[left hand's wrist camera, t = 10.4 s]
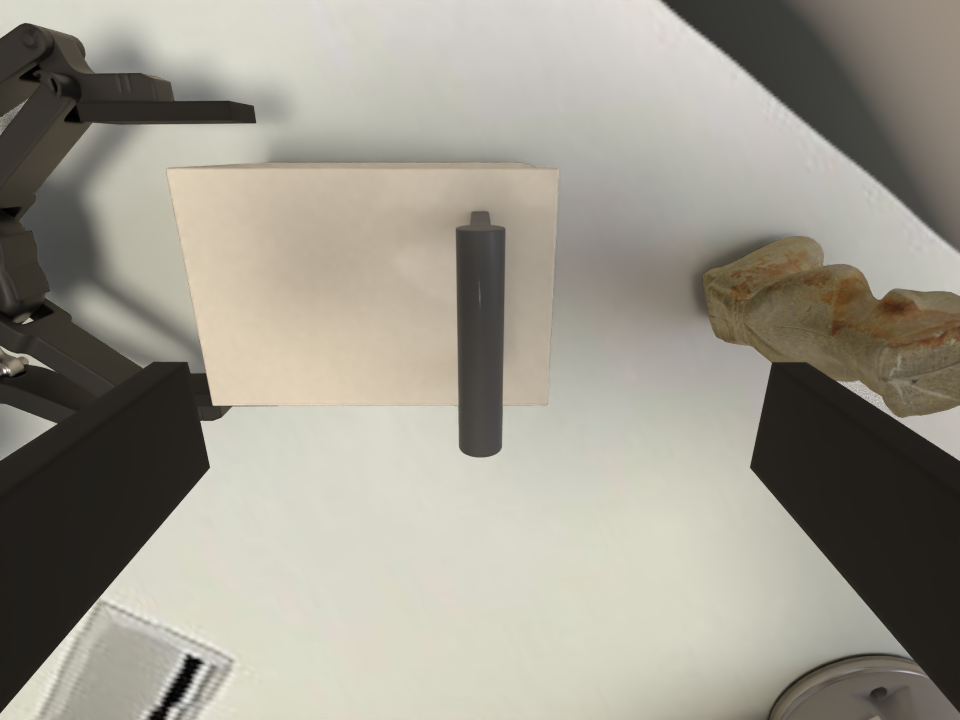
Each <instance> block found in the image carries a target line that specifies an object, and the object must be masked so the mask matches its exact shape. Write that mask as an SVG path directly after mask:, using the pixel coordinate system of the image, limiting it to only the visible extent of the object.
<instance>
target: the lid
mask: <svg viewBox="0 0 960 720" xmlns="http://www.w3.org/2000/svg"><path fill="white" fill-rule="evenodd" d="M559 172H560V170H559V168H555V167H175V168H167V169H166V174H167V179H168V184H169V189H170V194H171V199H172V204H173V209H174V214H175V219H176V224H177V229H178V234H179V239H180V244H181V249H182V254H183V259H184V264H185V269H186V274H187V279H188V284H189V289H190V294H191V299H192V304H193V309H194V314H195V319H196V324H197V329H198V334H199V339H200V344H201V349H202V354H203V359H204V364H205V369H206V374H207V379H208V384H209V389H210V394H211V399H212V404H213V405H214V406H458V410H459V448H460V450H461V451H462V452H463V453H464V454H466V455H469V456H472V457H489V456H492V455H495V454H497V453H498V452H499V451H500V450H501V448H502V416H503V406H514V405H547V404H548V389H549V369H550V349H551V330H552V310H553V290H554V270H555V251H556V231H557V211H558V191H559Z"/></svg>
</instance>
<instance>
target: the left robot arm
mask: <svg viewBox="0 0 960 720" xmlns="http://www.w3.org/2000/svg"><path fill="white" fill-rule="evenodd" d="M209 468H210V465H209V461H208V456H207V451H206V446H205V442H204V437H203V432H202V427H201V423H200V418H199V413H198V409H197V404H196V399H195V394H194V390H193V385H192V380H191V375H190V371H189V366H188V362H153V363H151V364H150V365H148V366H147V367H145V368H144V369H142V370H140V371H139V372H137V373H136V374H134V375H133V376H131V377H130V378H128V379H127V380H125V381H123V382H122V383H120V384H119V385H117V386H116V387H114V388H113V389H111V390H110V391H108V392H106V393H105V394H103V395H102V396H100V397H99V398H97V399H96V400H94V401H92V402H91V403H89V404H88V405H86V406H85V407H83V408H82V409H80V410H79V411H77V412H75V413H74V414H72V415H71V416H69V417H68V418H66V419H65V420H63V421H62V422H60V423H58V424H57V425H55V426H54V427H52V428H51V429H49V430H48V431H46V432H44V433H43V434H41V435H40V436H38V437H37V438H35V439H34V440H32V441H31V442H29V443H27V444H26V445H24V446H23V447H21V448H20V449H18V450H17V451H15V452H13V453H12V454H10V455H9V456H7V457H6V458H4V459H3V460H1V461H0V713H1V712H2V711H3V710H4V708H5V707H6V706H7V705H8V704H9V703H10V701H11V700H12V699H13V698H14V697H15V696H16V694H17V693H18V692H19V691H20V690H21V689H22V687H23V686H24V685H25V684H26V683H27V681H28V680H29V679H30V678H31V677H32V676H33V674H34V673H35V672H36V671H37V670H38V669H39V667H40V666H41V665H42V664H43V663H44V662H45V660H46V659H47V658H48V657H49V656H50V655H51V653H52V652H53V651H54V650H55V649H56V647H57V646H58V645H59V644H60V643H61V642H62V640H63V639H64V638H65V637H66V636H67V635H68V633H69V632H70V631H71V630H72V629H73V628H74V626H75V625H76V624H77V623H78V622H79V621H80V619H81V618H82V617H83V616H84V615H85V614H86V612H87V611H88V610H89V609H90V608H91V606H92V605H93V604H94V603H95V602H96V601H97V599H98V598H99V597H100V596H101V595H102V594H103V592H104V591H105V590H106V589H107V588H108V587H109V585H110V584H111V583H112V582H113V581H114V580H115V578H116V577H117V576H118V575H119V574H120V573H121V571H122V570H123V569H124V568H125V567H126V565H127V564H128V563H129V562H130V561H131V560H132V558H133V557H134V556H135V555H136V554H137V553H138V551H139V550H140V549H141V548H142V547H143V546H144V544H145V543H146V542H147V541H148V540H149V539H150V537H151V536H152V535H153V534H154V533H155V531H156V530H157V529H158V528H159V527H160V526H161V524H162V523H163V522H164V521H165V520H166V519H167V517H168V516H169V515H170V514H171V513H172V512H173V510H174V509H175V508H176V507H177V506H178V505H179V503H180V502H181V501H182V500H183V499H184V498H185V496H186V495H187V494H188V493H189V492H190V490H191V489H192V488H193V487H194V486H195V485H196V483H197V482H198V481H199V480H200V479H201V478H202V476H203V475H204V474H205V473H206V472H207V471H208V469H209ZM750 468H751V469H752V471H753V472H754V473H755V474H756V475H757V476H758V478H759V479H760V480H761V481H762V482H763V483H764V485H765V486H766V487H767V488H768V489H769V490H770V492H771V493H772V494H773V495H774V496H775V498H776V499H777V500H778V501H779V502H780V503H781V505H782V506H783V507H784V508H785V509H786V510H787V512H788V513H789V514H790V515H791V516H792V517H793V519H794V520H795V521H796V522H797V523H798V524H799V526H800V527H801V528H802V529H803V530H804V532H805V533H806V534H807V535H808V536H809V537H810V539H811V540H812V541H813V542H814V543H815V544H816V546H817V547H818V548H819V549H820V550H821V551H822V553H823V554H824V555H825V556H826V557H827V558H828V560H829V561H830V562H831V563H832V564H833V565H834V567H835V568H836V569H837V570H838V571H839V573H840V574H841V575H842V576H843V577H844V578H845V580H846V581H847V582H848V583H849V584H850V585H851V587H852V588H853V589H854V590H855V591H856V592H857V594H858V595H859V596H860V597H861V598H862V599H863V601H864V602H865V603H866V604H867V605H868V606H869V608H870V609H871V610H872V611H873V612H874V614H875V615H876V616H877V617H878V618H879V619H880V621H881V622H882V623H883V624H884V625H885V626H886V628H887V629H888V630H889V631H890V632H891V633H892V635H893V636H894V637H895V638H896V639H897V640H898V642H899V643H900V644H901V645H902V646H903V647H904V649H905V650H906V651H907V652H908V653H909V655H910V656H911V657H912V658H913V659H914V660H915V662H914V661H911V660H908V659H904V658H899V657H893V656H864V657H857V658H851V659H847V660H843V661H839V662H836V663H833V664H830V665H827V666H825V667H823V668H820V669H818V670H816V671H814V672H812V673H811V674H809V675H807V676H805V677H804V678H802V679H801V680H799V681H798V682H797V683H795V684H794V685H793V686H792V687H791V688H790V689H788V690H787V691H786V692H785V693H784V695H783V696H782V697H781V698H780V699H779V701H778V702H777V703H776V705H775V707H774V708H773V711H772V713H771V715H770V718H769V720H960V461H959V460H957V459H956V458H954V457H953V456H951V455H950V454H948V453H946V452H945V451H943V450H942V449H940V448H939V447H937V446H936V445H934V444H933V443H931V442H929V441H928V440H926V439H925V438H923V437H922V436H920V435H919V434H917V433H916V432H914V431H912V430H911V429H909V428H908V427H906V426H905V425H903V424H902V423H900V422H898V421H897V420H895V419H894V418H892V417H891V416H889V415H888V414H886V413H885V412H883V411H881V410H880V409H878V408H877V407H875V406H874V405H872V404H871V403H869V402H868V401H866V400H864V399H863V398H861V397H860V396H858V395H857V394H855V393H854V392H852V391H850V390H849V389H847V388H846V387H844V386H843V385H841V384H840V383H838V382H837V381H835V380H833V379H832V378H830V377H829V376H827V375H826V374H824V373H823V372H821V371H820V370H818V369H816V368H815V367H813V366H812V365H810V364H809V363H807V362H772V366H771V371H770V375H769V380H768V385H767V390H766V394H765V399H764V404H763V409H762V413H761V418H760V423H759V427H758V432H757V437H756V442H755V446H754V451H753V456H752V461H751V465H750Z"/></svg>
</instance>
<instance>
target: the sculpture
mask: <svg viewBox="0 0 960 720" xmlns="http://www.w3.org/2000/svg"><path fill="white" fill-rule="evenodd" d="M823 258H824V256H823V250H822V248H821V246H820V245H819V244H818V243H817V242H816V241H814V240H813V239H811V238H809V237H802V236H798V237H789V238H785V239H781V240H778V241H775V242H773V243H770V244H768V245H766V246H764V247H762V248H760V249H758V250H756V251H754V252H752V253H750V254H748V255H746V256H744V257H742V258H741V259H739V260H737V261H735V262H733V263H730V264H728V265H725V266H722V267H715V268H712V269H710V270H708V271H707V272H705V273H704V275H703V288H704V293H705V297H706V303H707V309H708V314H709V319H710V323H711V326H712V329H713V331H714V333H715V335H716V337H717V338H719V339H722V340H724V341H725V342H728V343H733V344H740V345H750V346H752V347H754V348H755V349H756V350H757V351H758V352H759V353H761V354H762V355H763V356H764V357H766V358H767V359H768V360H769V361H770V362H807V363H809V364H810V365H812V366H813V367H815V368H816V369H818V370H820V371H821V372H823V373H824V374H826V375H827V376H829V377H830V378H832V379H833V380H835V381H845V382H852V381H857V380H860V381H861V382H862V383H863V384H865V385H866V386H867V387H868V388H869V389H871V390H872V391H874V392H875V393H877V394H879V395H880V396H882V398H883V400H884V402H885V404H886V405H887V407H888V408H889V409H890V410H891V411H892V412H893V413H894V414H895V415H896V416H898V417H901V418H904V417H907V416H914V415H927V414H932V413H936V412H941V411H945V410H949V409H951V408H954V407H956V406H959V405H960V296H958V295H956V294H954V293H952V292H945V291H932V292H920V291H913V290H905V289H893V290H891V291H890V292H889V293H887V294H886V295H885V296H884V298H883V299H881V300H877V299H875V297H874V296H873V295H872V293H871V291H870V288H869V285H868V282H867V280H866V278H865V277H864V275H863V273H862V272H860V271H859V270H858V269H857V268H855V267H853V266H850V265H846V264H835V265H828V266H823Z"/></svg>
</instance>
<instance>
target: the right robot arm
mask: <svg viewBox="0 0 960 720" xmlns="http://www.w3.org/2000/svg"><path fill="white" fill-rule="evenodd" d="M84 58H85V49H84V46H83V44H82V43H81V42H80V41H79V40H78V39H77V38H76V37H74V36H72V35H68V34H65V33H61V32H58V31H54V30H51V29H47V28H44V27H40V26H37V25H33V24H28V23H24V24H21V25H19V26H18V27H16V28H15V29H13V30H12V31H10V32H9V33H8V34H6V35H5V36H3V37H2V38H0V117H2V116H3V115H5V114H6V113H8V112H9V111H11V110H12V109H14V108H15V107H17V106H18V105H20V104H21V103H23V102H24V101H26V100H27V99H28V101H27V102H26V103H25V104H24V106H23V107H22V108H21V110H20V111H19V112H18V113H17V115H16V116H15V117H14V119H13V120H12V121H11V123H10V124H9V125H8V126H7V128H6V129H5V130H4V132H3V133H2V134H1V135H0V346H2V347H4V348H5V349H7V350H9V351H11V352H14V353H22V354H28V355H30V356H32V357H33V358H35V359H37V360H38V361H40V362H41V363H43V364H45V365H46V366H48V367H50V368H51V369H53V370H54V371H52V370H49V369H46V368H42V367H38V366H33V365H28V364H29V362H28V360H27V359H26V358H25V357H18V358H16V357H13V356H10V355H8V354H6V353H5V352H4V351H2V349H1V348H0V403H1V404H8V405H10V406H13V407H15V408H18V409H21V410H23V411H26V412H28V413H31V414H34V415H36V416H39V417H42V418H44V419H47V420H49V421H52V422H55V423H57V424H58V423H60V422H62V421H63V420H65V419H66V418H68V417H69V416H71V415H72V414H74V413H75V412H77V411H79V410H80V409H82V408H83V407H85V406H86V405H88V404H89V403H91V402H92V401H94V400H96V399H97V398H99V397H100V396H102V395H103V394H105V393H106V392H108V391H110V390H111V389H113V388H114V387H116V386H117V385H119V384H120V383H122V382H123V381H125V380H127V379H128V378H130V377H131V376H133V375H134V374H136V373H137V372H139V371H140V370H142V369H143V368H141V367H140V366H138V365H137V364H135V363H134V362H132V361H131V360H129V359H127V358H126V357H124V356H123V355H121V354H120V353H118V352H117V351H115V350H114V349H112V348H110V347H109V346H107V345H106V344H104V343H103V342H101V341H100V340H98V339H97V338H95V337H94V336H92V335H90V334H89V333H87V332H86V331H84V330H83V329H81V328H80V327H78V326H77V325H75V324H74V323H72V321H71V320H72V317H71V315H70V314H68V313H67V312H66V311H64V310H63V309H61V308H60V307H58V306H56V305H55V304H53V303H52V302H50V301H49V300H47V299H46V298H44V297H45V293H46V292H49V291H50V289H49V286H48V282H47V279H46V276H45V275H44V273H43V271H42V269H41V268H40V266H39V264H38V262H37V247H36V243H35V240H34V236H33V233H32V231H26V230H25V229H24V227H23V226H22V225H21V223H20V222H19V220H20V218H21V217H22V216H23V215H24V214H25V212H26V211H27V210H28V209H29V208H30V206H31V205H32V204H33V203H34V202H35V200H36V196H35V195H34V193H35V192H36V191H37V189H38V188H39V187H40V186H41V184H42V183H43V182H44V181H45V180H46V178H47V177H48V176H49V175H50V174H51V172H52V171H53V170H54V169H55V168H56V166H57V165H58V164H59V163H60V161H61V160H62V159H63V158H64V157H65V155H66V154H67V153H68V152H69V151H70V149H71V148H72V147H73V146H74V144H75V143H76V142H77V141H78V140H79V138H80V137H81V136H82V135H83V134H84V132H85V131H86V130H87V129H88V127H89V126H90V125H91V124H92V123H106V124H119V125H125V124H233V123H256V119H255V112H254V106H252V105H247V104H242V103H237V102H232V101H174V97H173V92H172V87H171V82H169V81H166V80H164V79H161V78H159V77H155V76H150V75H146V74H142V73H118V74H117V73H108V74H95V73H94V72H93V71H92V70H91V69H90V68H89V66H88V65H87V63H86V61H85V59H84ZM28 318H31V319H33V320H34V321H32V322H29V323H27V324H22V323H24V322H25V321H26V320H27V319H28ZM55 371H56V372H55ZM57 372H58V373H57ZM190 375H191V380H192V385H193V390H194V394H195V399H196V404H197V409H198V413H199V418H200V421H202V420H203V421H214V420H216V419H219V418H221V417H222V416H223V415H224V414H225V413H226V412H227V411H228V410H229V409H230V408H231V407H232V406H214V405H213V404H212V399H211V394H210V389H209V384H208V379H207V374H206V373H197V374H190Z"/></svg>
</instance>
